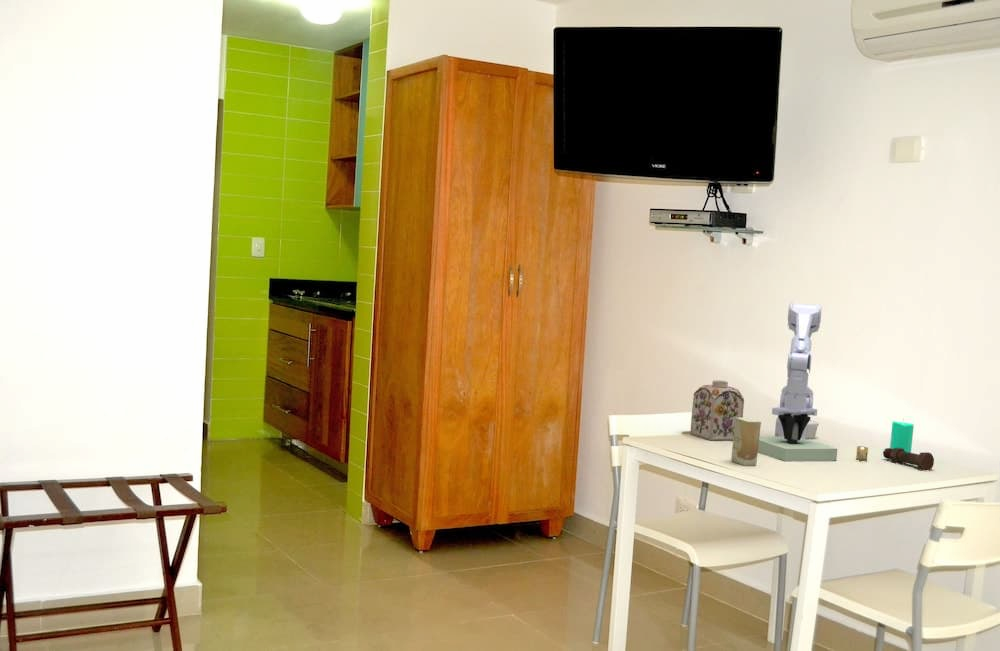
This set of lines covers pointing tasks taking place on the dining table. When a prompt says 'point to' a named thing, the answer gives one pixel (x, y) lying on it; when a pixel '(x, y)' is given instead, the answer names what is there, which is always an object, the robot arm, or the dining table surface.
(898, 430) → the candle
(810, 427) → the ramekin
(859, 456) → the short pin
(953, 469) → the dining table surface
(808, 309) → the robot arm
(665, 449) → the dining table surface
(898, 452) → the bolt
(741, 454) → the skincare box
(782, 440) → the collar plate
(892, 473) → the dining table surface
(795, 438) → the tall pin
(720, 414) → the decorative jar
